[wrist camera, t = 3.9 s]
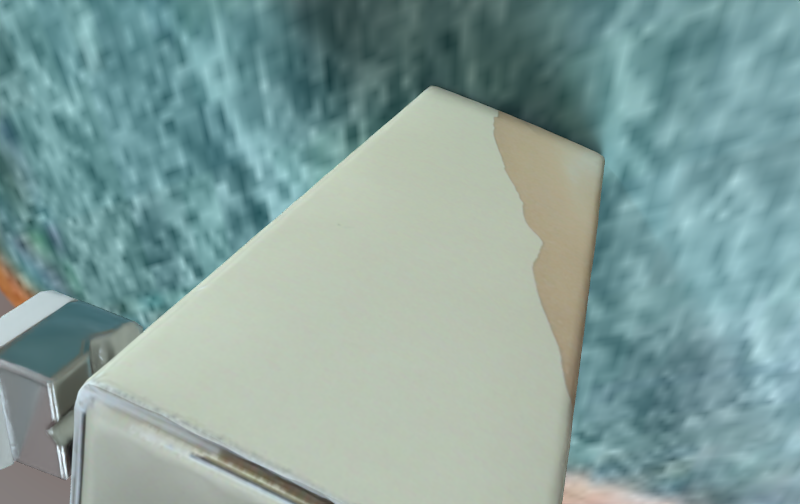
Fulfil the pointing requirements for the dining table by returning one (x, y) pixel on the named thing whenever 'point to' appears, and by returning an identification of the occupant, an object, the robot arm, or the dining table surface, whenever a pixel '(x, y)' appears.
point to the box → (371, 335)
